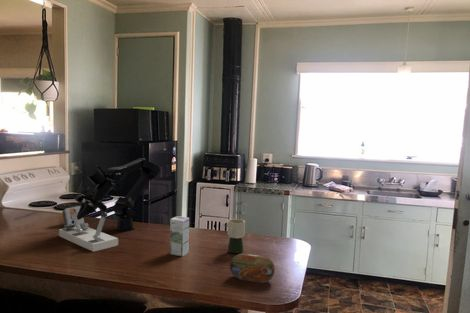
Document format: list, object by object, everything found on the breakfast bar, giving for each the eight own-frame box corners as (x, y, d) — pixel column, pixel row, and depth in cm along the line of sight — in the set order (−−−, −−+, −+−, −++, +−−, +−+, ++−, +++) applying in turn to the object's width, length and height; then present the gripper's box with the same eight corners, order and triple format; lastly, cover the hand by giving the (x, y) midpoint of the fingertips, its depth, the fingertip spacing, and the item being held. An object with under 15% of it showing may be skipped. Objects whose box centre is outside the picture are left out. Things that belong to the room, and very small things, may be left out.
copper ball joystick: (81, 230, 154) (72, 206, 150) (84, 231, 152) (76, 207, 148) (75, 233, 152) (67, 209, 148) (79, 234, 150) (70, 210, 146)
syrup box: (189, 252, 141) (189, 217, 140) (182, 257, 136) (183, 220, 135) (176, 250, 143) (177, 215, 142) (169, 255, 137) (169, 218, 136)
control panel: (82, 231, 166) (82, 224, 166) (118, 245, 147) (118, 237, 147) (59, 236, 158) (59, 229, 157) (93, 251, 139) (93, 243, 138)
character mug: (233, 247, 149) (233, 217, 148) (248, 249, 146) (249, 219, 146) (221, 254, 139) (222, 222, 139) (238, 257, 136) (239, 225, 136)
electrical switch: (68, 227, 171) (67, 209, 171) (61, 227, 174) (60, 208, 174) (84, 223, 180) (83, 205, 179) (77, 223, 182) (76, 205, 182)
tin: (229, 277, 118) (229, 253, 117) (232, 274, 121) (233, 250, 120) (272, 285, 112) (273, 260, 112) (275, 281, 115) (276, 256, 115)
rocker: (70, 226, 160) (70, 223, 160) (74, 227, 157) (74, 224, 157) (63, 227, 158) (63, 225, 158) (68, 228, 155) (67, 225, 155)
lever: (96, 239, 144) (105, 211, 147) (100, 240, 143) (109, 212, 145) (91, 238, 142) (100, 210, 145) (94, 239, 141) (104, 211, 143)
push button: (85, 226, 161) (85, 222, 161) (89, 228, 158) (89, 224, 158) (78, 228, 158) (78, 224, 158) (82, 230, 156) (82, 225, 155)
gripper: (78, 177, 159) (53, 204, 151) (100, 181, 147) (74, 211, 140) (94, 192, 166) (71, 219, 158) (116, 197, 154) (93, 227, 146)
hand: (77, 219), depth 150 cm, fingers closed, pressing on copper ball joystick
